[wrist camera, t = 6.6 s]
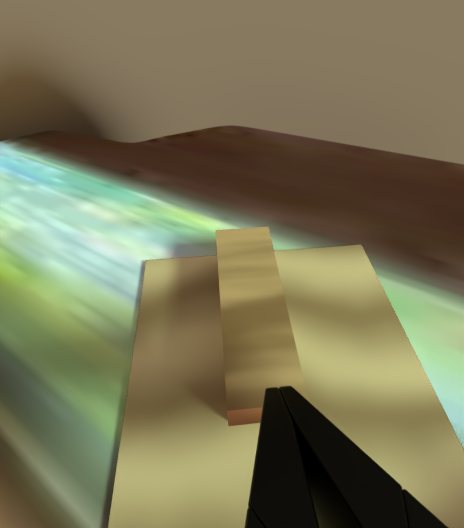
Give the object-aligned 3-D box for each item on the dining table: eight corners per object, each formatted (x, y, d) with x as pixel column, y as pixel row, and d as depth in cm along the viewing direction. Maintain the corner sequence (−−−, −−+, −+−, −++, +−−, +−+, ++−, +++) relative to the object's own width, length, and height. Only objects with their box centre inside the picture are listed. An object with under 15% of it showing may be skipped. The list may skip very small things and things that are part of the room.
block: (312, 417, 11) (268, 226, 17) (228, 426, 10) (215, 230, 17) (293, 414, 14) (262, 256, 20) (229, 421, 14) (218, 259, 20)
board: (598, 742, 9) (621, 763, 8) (70, 840, 8) (58, 871, 7) (358, 248, 22) (361, 244, 21) (148, 264, 21) (146, 260, 20)
